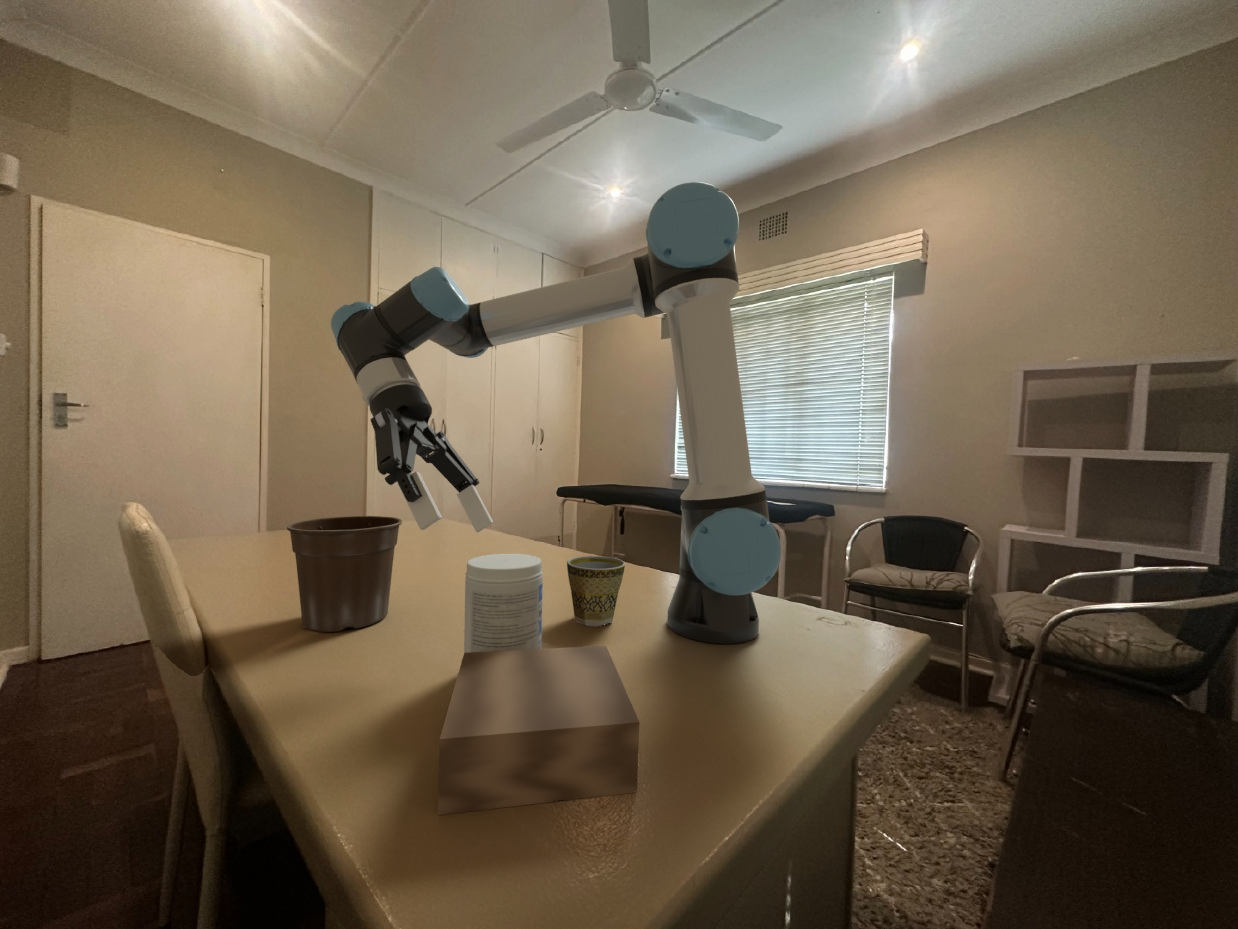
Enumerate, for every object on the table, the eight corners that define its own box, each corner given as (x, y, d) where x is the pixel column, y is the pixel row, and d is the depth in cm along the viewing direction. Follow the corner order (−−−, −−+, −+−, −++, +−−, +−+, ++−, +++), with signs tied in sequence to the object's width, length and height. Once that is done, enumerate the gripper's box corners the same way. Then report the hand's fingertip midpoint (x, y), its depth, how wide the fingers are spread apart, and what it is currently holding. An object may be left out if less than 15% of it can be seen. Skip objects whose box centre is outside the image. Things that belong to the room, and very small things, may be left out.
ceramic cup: (622, 631, 76) (624, 570, 76) (561, 629, 76) (563, 567, 76) (623, 606, 89) (625, 553, 89) (570, 604, 89) (572, 551, 89)
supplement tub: (555, 677, 60) (559, 562, 59) (487, 703, 53) (491, 573, 53) (514, 652, 67) (517, 549, 66) (449, 672, 60) (452, 558, 60)
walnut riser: (604, 696, 56) (606, 645, 55) (636, 792, 40) (639, 722, 40) (462, 706, 52) (464, 652, 52) (437, 815, 37) (439, 739, 36)
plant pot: (257, 636, 69) (259, 527, 69) (329, 602, 86) (331, 513, 85) (364, 641, 69) (366, 531, 68) (416, 606, 85) (419, 517, 85)
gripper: (425, 432, 79) (482, 541, 74) (301, 384, 55) (372, 540, 50) (462, 408, 79) (521, 515, 74) (352, 348, 55) (429, 502, 50)
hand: (461, 525), depth 62 cm, fingers open, 13 cm apart
